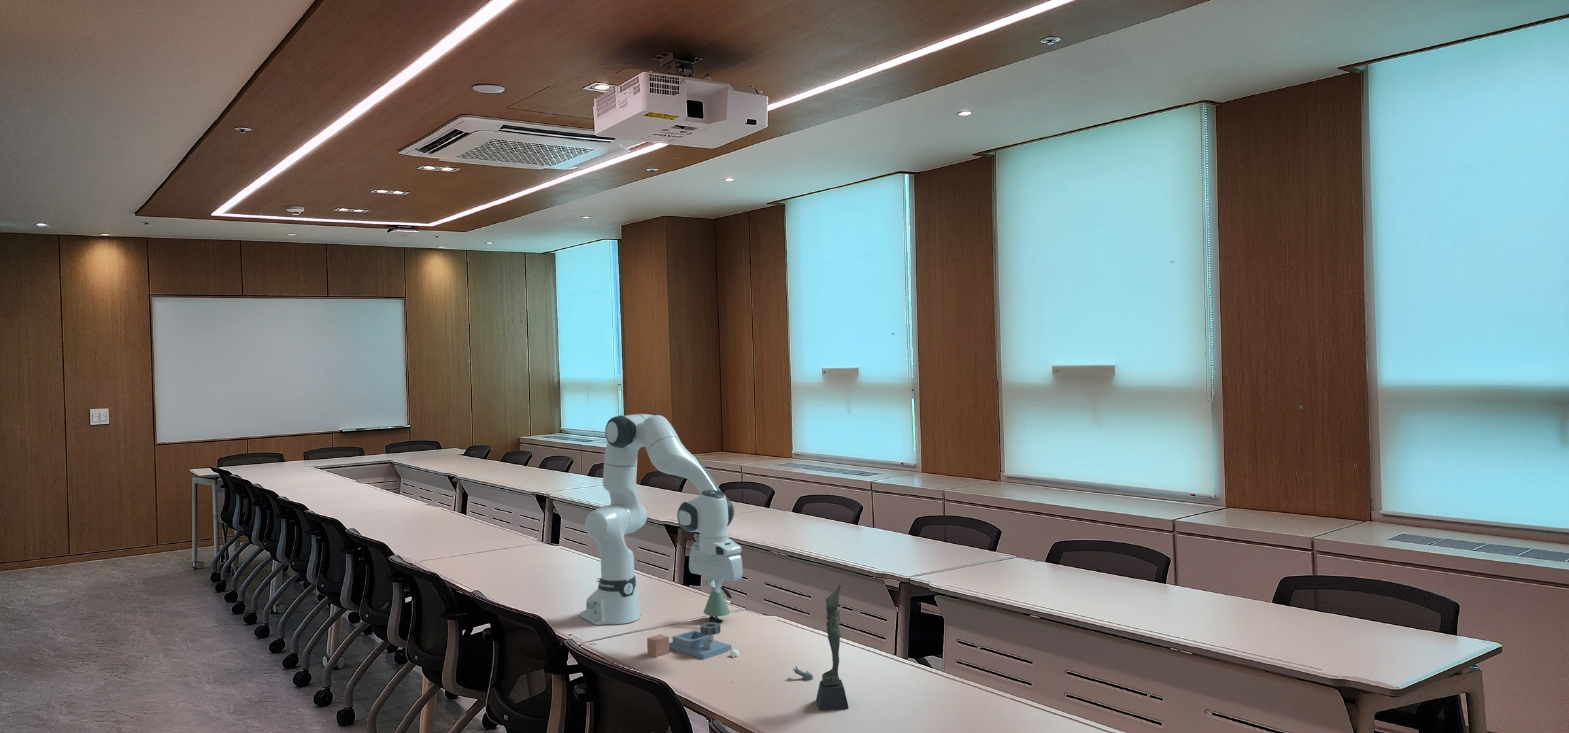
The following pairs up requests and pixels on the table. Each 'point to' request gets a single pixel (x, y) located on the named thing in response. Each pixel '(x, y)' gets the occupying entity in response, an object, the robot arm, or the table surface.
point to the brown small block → (658, 645)
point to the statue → (830, 685)
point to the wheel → (710, 628)
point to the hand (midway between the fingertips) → (715, 591)
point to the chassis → (698, 644)
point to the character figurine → (717, 604)
